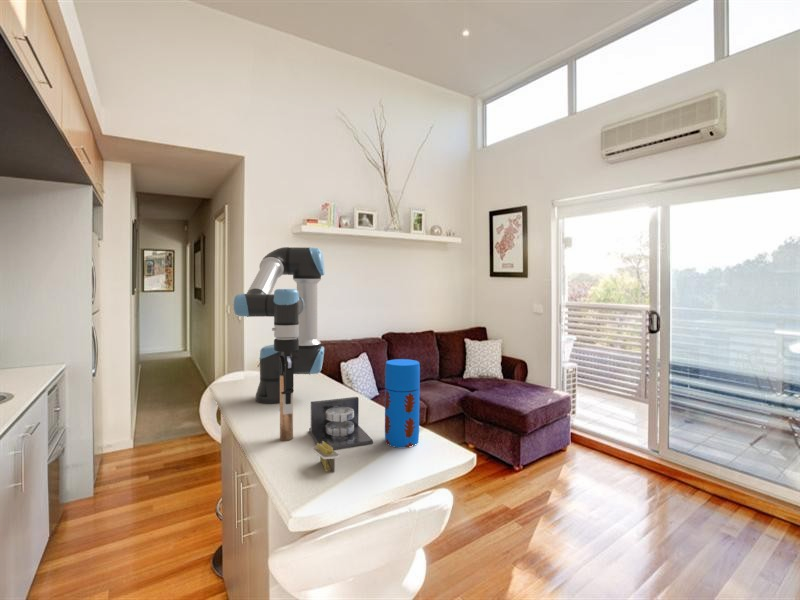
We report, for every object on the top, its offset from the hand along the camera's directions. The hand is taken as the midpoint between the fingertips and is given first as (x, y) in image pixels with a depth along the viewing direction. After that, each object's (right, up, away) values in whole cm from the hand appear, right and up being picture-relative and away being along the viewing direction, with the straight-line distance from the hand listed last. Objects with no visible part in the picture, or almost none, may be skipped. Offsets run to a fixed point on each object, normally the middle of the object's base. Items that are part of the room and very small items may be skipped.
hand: (286, 411), depth 127 cm
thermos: (+37, -9, -1) cm, 38 cm away
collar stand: (+17, -9, +2) cm, 19 cm away
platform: (+16, -10, -19) cm, 27 cm away
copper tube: (0, -9, 0) cm, 9 cm away
